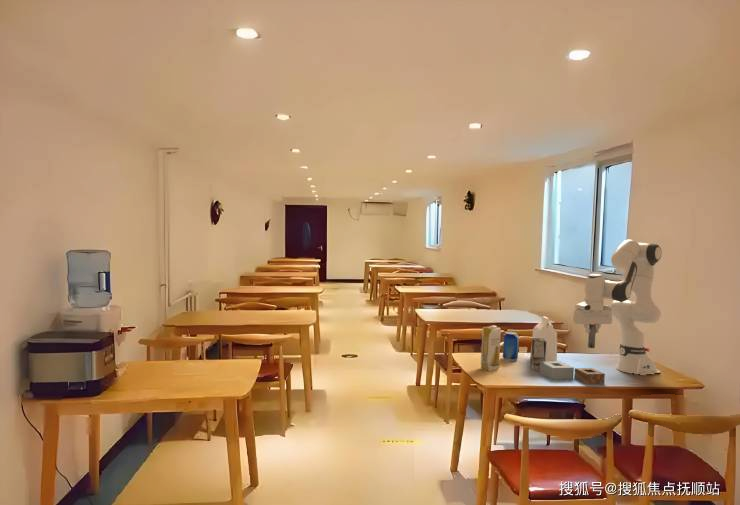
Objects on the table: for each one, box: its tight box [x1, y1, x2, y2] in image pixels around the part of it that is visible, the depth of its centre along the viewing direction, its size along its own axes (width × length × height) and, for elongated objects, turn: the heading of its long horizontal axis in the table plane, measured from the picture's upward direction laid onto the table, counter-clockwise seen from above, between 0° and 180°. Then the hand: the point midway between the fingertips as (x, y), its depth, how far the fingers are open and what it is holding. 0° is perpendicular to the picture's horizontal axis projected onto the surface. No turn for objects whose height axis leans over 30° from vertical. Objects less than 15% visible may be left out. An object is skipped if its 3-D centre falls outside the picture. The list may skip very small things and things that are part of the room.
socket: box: [539, 360, 575, 381], centre depth 247 cm, size 12×12×6 cm
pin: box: [587, 323, 597, 349], centre depth 240 cm, size 4×4×13 cm
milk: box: [529, 316, 558, 361], centre depth 275 cm, size 12×12×26 cm
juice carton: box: [480, 325, 502, 372], centre depth 254 cm, size 9×8×24 cm
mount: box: [573, 367, 606, 385], centre depth 241 cm, size 10×10×5 cm
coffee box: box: [530, 338, 546, 372], centre depth 259 cm, size 9×6×16 cm
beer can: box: [502, 331, 520, 362], centre depth 275 cm, size 8×8×16 cm
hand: (592, 332), depth 240 cm, fingers closed on pin, 3 cm apart
